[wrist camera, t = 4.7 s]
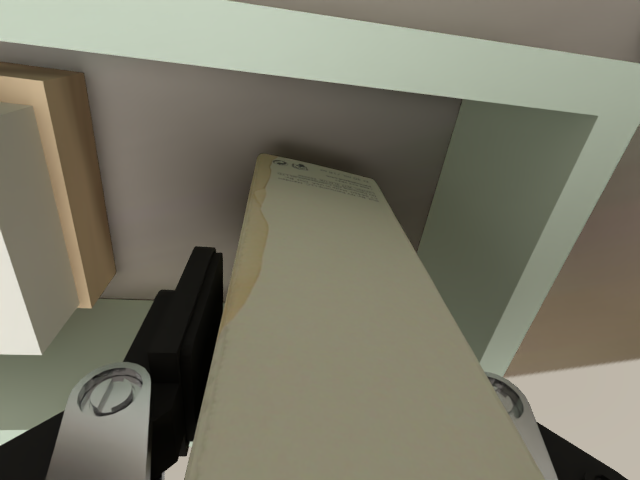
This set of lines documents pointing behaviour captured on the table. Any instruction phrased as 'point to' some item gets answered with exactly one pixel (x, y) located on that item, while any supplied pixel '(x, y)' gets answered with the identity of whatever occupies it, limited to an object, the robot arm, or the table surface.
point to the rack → (454, 182)
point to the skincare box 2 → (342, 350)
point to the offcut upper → (30, 241)
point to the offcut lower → (68, 168)
